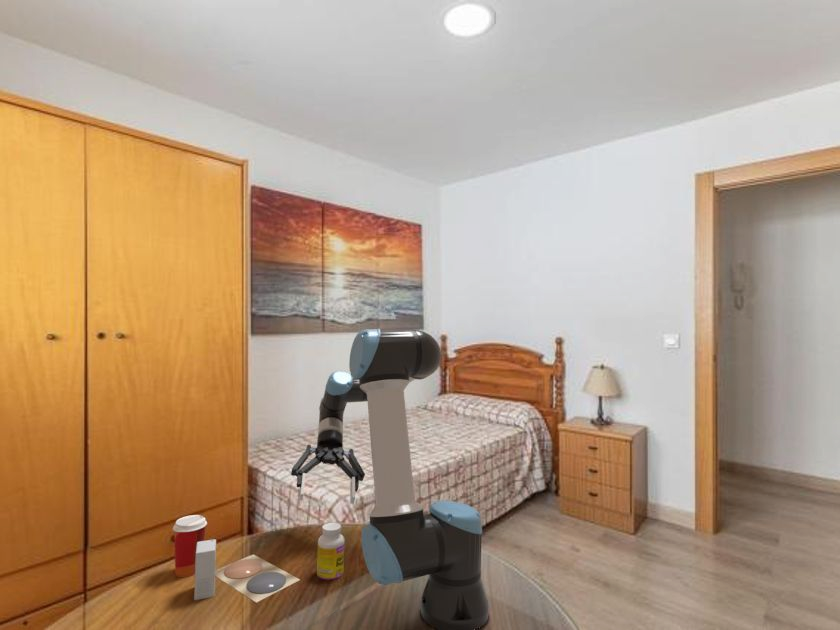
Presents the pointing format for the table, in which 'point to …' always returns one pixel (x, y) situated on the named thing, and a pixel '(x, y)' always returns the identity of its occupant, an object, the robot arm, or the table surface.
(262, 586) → the slate pad
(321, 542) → the supplement bottle
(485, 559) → the table surface
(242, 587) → the birch board
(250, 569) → the terracotta pad
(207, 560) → the skincare box
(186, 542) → the paper cup
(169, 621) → the table surface
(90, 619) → the table surface
